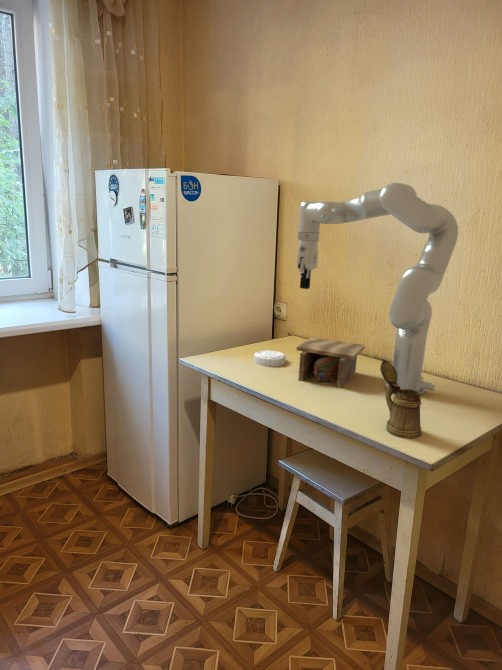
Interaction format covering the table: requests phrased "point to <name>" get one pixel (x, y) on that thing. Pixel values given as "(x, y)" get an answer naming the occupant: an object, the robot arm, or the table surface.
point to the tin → (326, 368)
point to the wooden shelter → (324, 347)
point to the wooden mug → (401, 405)
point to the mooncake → (269, 358)
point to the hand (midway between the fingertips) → (304, 288)
